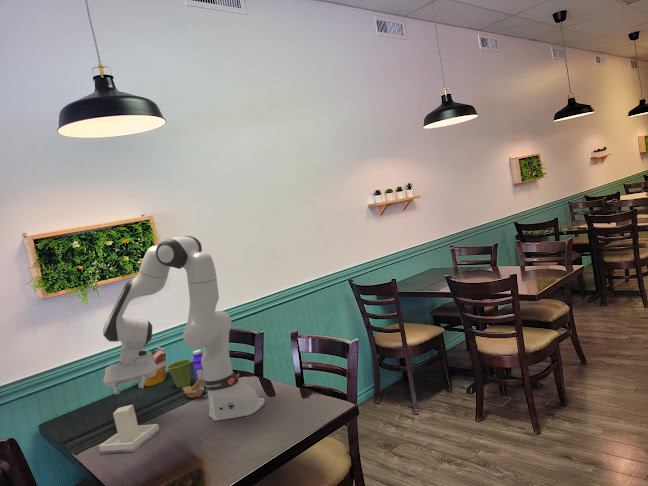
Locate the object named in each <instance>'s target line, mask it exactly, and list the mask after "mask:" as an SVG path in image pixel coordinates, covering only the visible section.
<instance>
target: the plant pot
mask: <svg viewBox="0 0 648 486" xmlns="http://www.w3.org/2000/svg"><path fill="white" fill-rule="evenodd" d="M191 361H192V360H191V359H181V360H178V361H174V362H173V363H170V364H169V365H167V366H166V370H167V371H168V372H169V373H170V375H171V378H172V381H173V382H174V385H175V387H176V388H177V389H182V388H183V387H185V386H191V383H192V377H191Z"/></svg>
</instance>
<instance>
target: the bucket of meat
mask: <svg viewBox="0 0 648 486" xmlns="http://www.w3.org/2000/svg"><path fill="white" fill-rule="evenodd" d="M156 349H157V350H152V351H151V352H150V353H151V354H152V355H153V356H154V358H155V361H154V362H155V363H156V370H157V372H156V375H155V376H153V377H149V378H147V381H146V382H145V384H144V387H148V388H149V387H153V386H156V385H159V384H162V383H163V382H165V379H166V377H167V374H166V373H167V372H166V371H167V368H166V367H167V366H166V364H167V360H166V355H167V353H165V352H164V351H166V350H165V348H164V347H161V346H157V347H156ZM139 381H140V382H141V381H142V379H140V380H139Z"/></svg>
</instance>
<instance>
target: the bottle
mask: <svg viewBox="0 0 648 486" xmlns="http://www.w3.org/2000/svg"><path fill="white" fill-rule="evenodd" d="M192 355H193V360H192V362H193V372H194V375H195V378H196V382H197V381H198V380H199V378H201V379H203V380H205V377H204V373H203V368H202V364H201V359H202V356H203V352H202V350H201V349H195V350H194V351H192ZM204 387H205V386H204ZM205 388H206V387H205Z"/></svg>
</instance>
